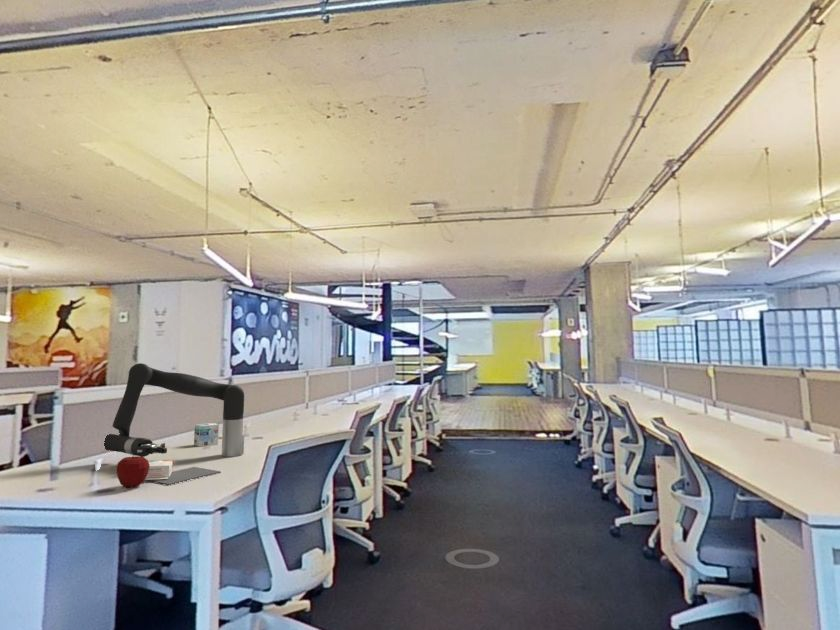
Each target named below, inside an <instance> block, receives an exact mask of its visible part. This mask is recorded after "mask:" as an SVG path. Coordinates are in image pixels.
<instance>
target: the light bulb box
mask: <svg viewBox="0 0 840 630" xmlns="http://www.w3.org/2000/svg"><path fill="white" fill-rule="evenodd" d="M219 429H220V424H219V423H215V422H210V423H199V424H195V425H194V432H193V434H194V436H193V437H194V439H193V446H196V445H197V447H199V446H201V447H206V446H205V445H209V446H215V445H219V431H220V430H219Z"/></svg>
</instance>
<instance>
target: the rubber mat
mask: <svg viewBox="0 0 840 630" xmlns="http://www.w3.org/2000/svg"><path fill="white" fill-rule="evenodd" d="M217 473H218V474H221V473H222V472H221V470H215V469H210V468H203V467H196V466H193V467H188V468H183V469H179V470H172V473H171V475H170V477H169V478H168V479H157V480H146V481H145V482H148V481H152V482H151V483H153V482H157V483H156V484H158V483H162V484H161V485H163V484H166V485H165V486H168V485H170V486H172V485H171V484H174V485H176V484H175V483H178V484H180V483H179V482H182V483H184V482H183V481H186V482H188V481H187V480H190V479H194V480H196V479H195V478H198V479H200V478H199V477H202V478H204V477H203V476H206V477H209V476H208V475H210V476H214V475H217ZM213 474H214V475H213ZM190 481H191V480H190Z"/></svg>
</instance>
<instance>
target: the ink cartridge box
mask: <svg viewBox="0 0 840 630" xmlns="http://www.w3.org/2000/svg"><path fill="white" fill-rule="evenodd" d="M148 462H149V465H150V466H149V471H148V474H147V476H146V478H145V480H157V479H168V478H169V477H170V475H171V473H172V472H173V466H174V464H173V463H174V460H173V459H167V460H166V459H165V460H164V459H162V460H161V459H160V460H159V459H158V460H149V461H148Z"/></svg>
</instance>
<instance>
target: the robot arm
mask: <svg viewBox="0 0 840 630" xmlns="http://www.w3.org/2000/svg"><path fill="white" fill-rule="evenodd" d="M145 386H152V387H153V386H154V387H159V388H162V389H166V390H169V391H171V392H174V393H177V394H178V393H179V394H181V395H183V394H184V395H187V396H191V397H192V396H194V397H203V398H204V397H206V398H213V399H218V400H220V401H223V410H222V434H221V435H222V438H221V456H222V457H228V458H230V457H238V456H242V455H244V452H245V450H244V449H245V434H244V433H243V432H244V430H243V429H244V413H245V412H244V410H245V408H244V407H245V392H244V389H243V388H242V387H241V386H239V385H237V384H227V383H221V382H215V381H212V380H209V379H207V378H203V377H199V376H196V375H192V374H186V373H182V372H181V373H180V372H168V371H163V370H159V369H157V368H153V367H151V366H148V365H147V364H146V363H143V362H141V363H136V364H134V365H132V366H131V367H130V369H129V370H128V377H127V383H126V387H125V391H124V394H123V397H122V400H121V401H120V404H119V406H118V410H117V412H116V414H115V417H114V419H113V422H112V428H114V429H116V430H117V431H118V434H113V433H108V434H109V435H108V434H106V435H107V436H106V435H105V436H106V438H105V441H104V442H105V443H104V446H105V449H106V450H105V449H104V450H105V451H109V450H110V451H111V452H115V451H116V452H117V453H123V454H129V455H132V456H134V457H138V456H141V457H144V458H145V457H147V456H149V455H153V454H161V455H163V454H167V452H168V447H166V443H165V442H164V443H160V444H158V443H155V442H154V441H152V440H151V439H150V438H145V437H140V436H136V437H134V436H130V431H131V425H132V422H133V420H134V417H135V414H136V410H137V407H138V402H139V400H140V399H139V398H140V396H141V393H142V391H143V388H144V387H145ZM119 433H120V434H119ZM110 451H109V452H110Z"/></svg>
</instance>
